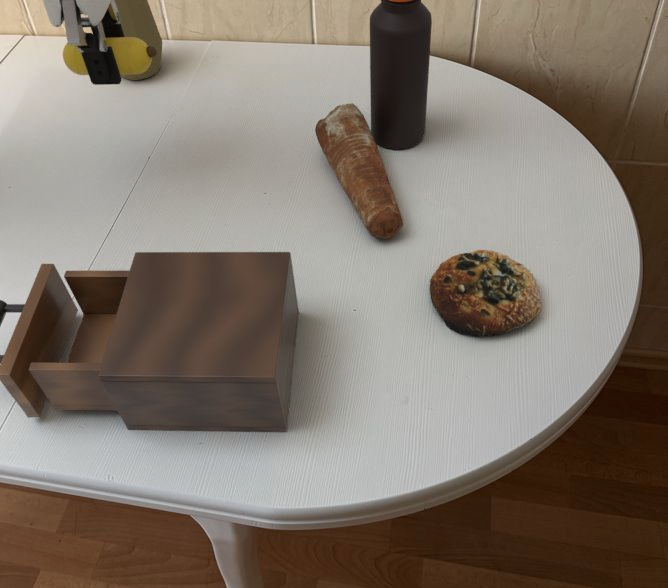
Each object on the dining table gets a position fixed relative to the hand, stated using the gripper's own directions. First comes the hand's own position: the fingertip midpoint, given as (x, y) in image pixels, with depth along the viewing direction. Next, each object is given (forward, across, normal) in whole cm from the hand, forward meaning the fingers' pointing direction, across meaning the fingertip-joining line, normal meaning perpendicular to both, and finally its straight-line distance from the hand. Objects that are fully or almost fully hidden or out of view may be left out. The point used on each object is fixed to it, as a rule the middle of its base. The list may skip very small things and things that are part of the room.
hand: (111, 69), depth 77 cm
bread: (+13, +5, +28) cm, 31 cm away
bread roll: (+13, +22, +40) cm, 47 cm away
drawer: (+12, +31, +2) cm, 33 cm away
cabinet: (+13, +31, +14) cm, 36 cm away
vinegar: (+13, -5, +32) cm, 35 cm away
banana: (0, 0, 0) cm, 0 cm away
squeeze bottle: (+13, -21, -5) cm, 25 cm away
